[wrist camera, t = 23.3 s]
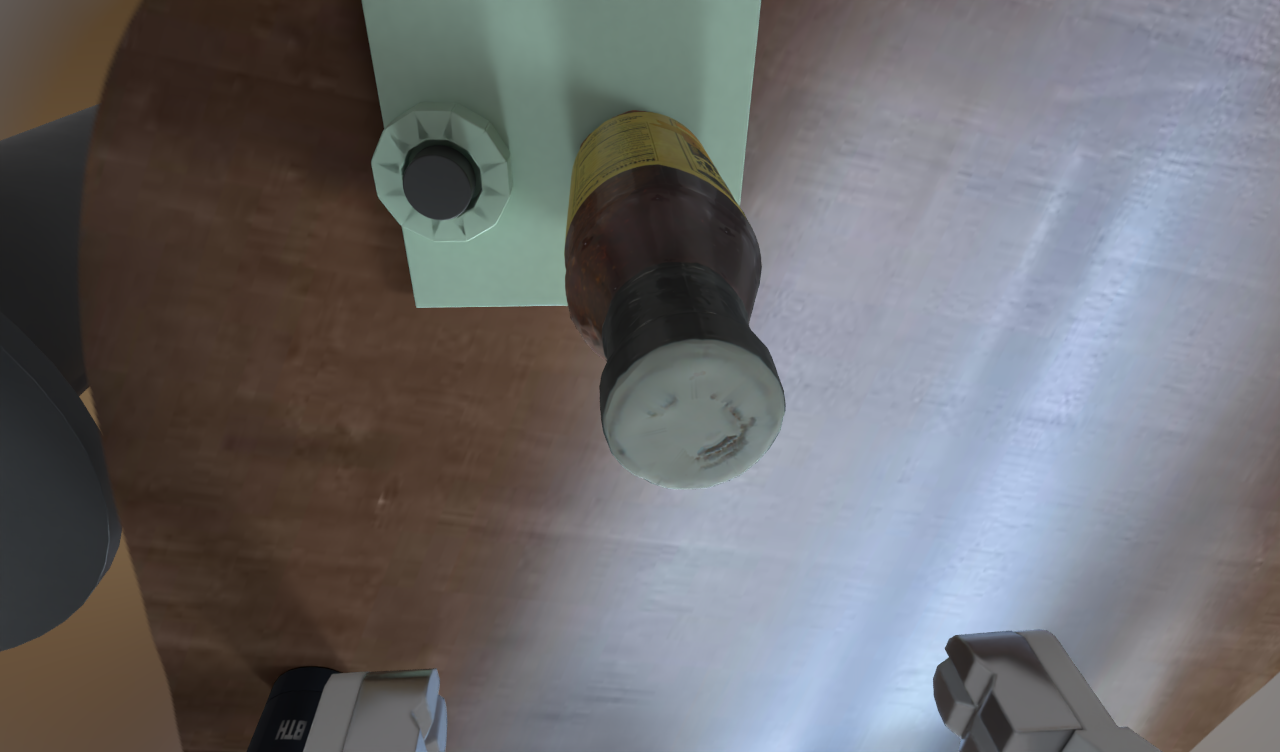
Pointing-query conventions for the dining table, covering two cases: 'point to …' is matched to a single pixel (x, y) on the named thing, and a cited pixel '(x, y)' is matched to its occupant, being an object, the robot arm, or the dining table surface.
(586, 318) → the sauce bottle
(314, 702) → the navy water bottle
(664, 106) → the green panel with knob
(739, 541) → the dining table surface
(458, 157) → the button
